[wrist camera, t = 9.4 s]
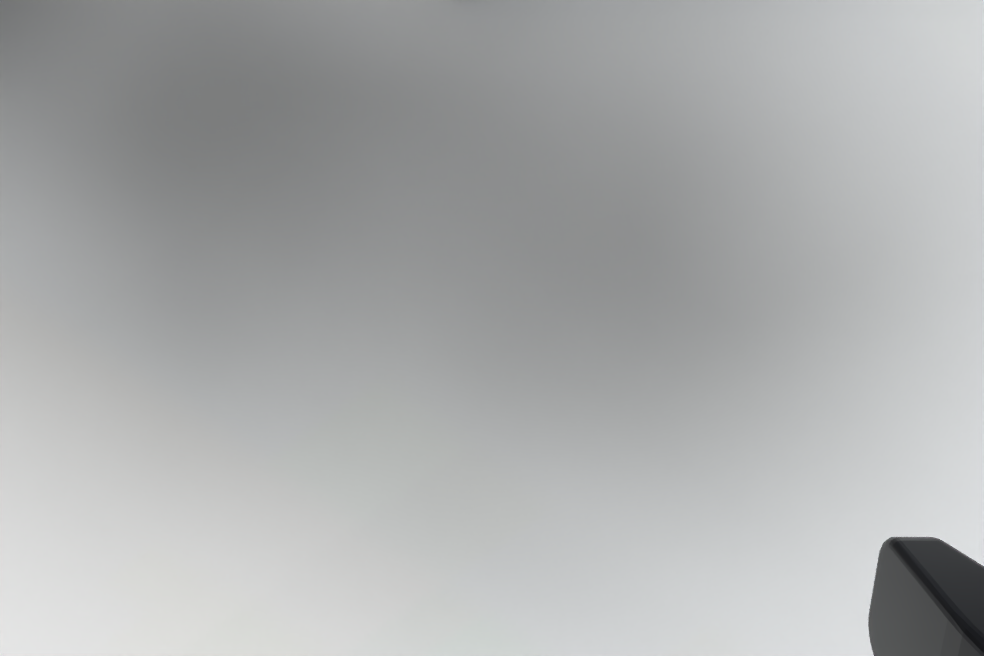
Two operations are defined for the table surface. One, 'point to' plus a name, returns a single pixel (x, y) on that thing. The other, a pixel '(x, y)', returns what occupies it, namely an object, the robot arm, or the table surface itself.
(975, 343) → the table surface
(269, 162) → the table surface
